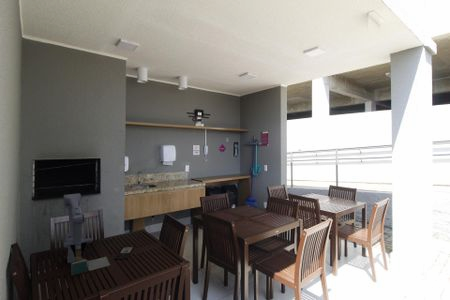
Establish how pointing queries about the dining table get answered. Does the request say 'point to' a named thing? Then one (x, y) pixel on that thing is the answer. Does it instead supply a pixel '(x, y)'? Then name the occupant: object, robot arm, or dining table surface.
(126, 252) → the chocolate bar
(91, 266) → the mat
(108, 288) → the dining table surface
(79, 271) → the tile
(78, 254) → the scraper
